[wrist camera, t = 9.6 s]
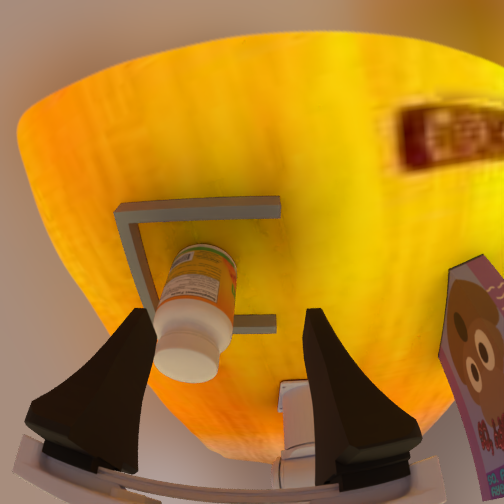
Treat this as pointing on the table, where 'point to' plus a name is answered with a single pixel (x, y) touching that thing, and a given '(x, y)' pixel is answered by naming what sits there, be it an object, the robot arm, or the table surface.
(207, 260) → the supplement bottle
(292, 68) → the table surface
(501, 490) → the cereal box
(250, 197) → the tray frame
